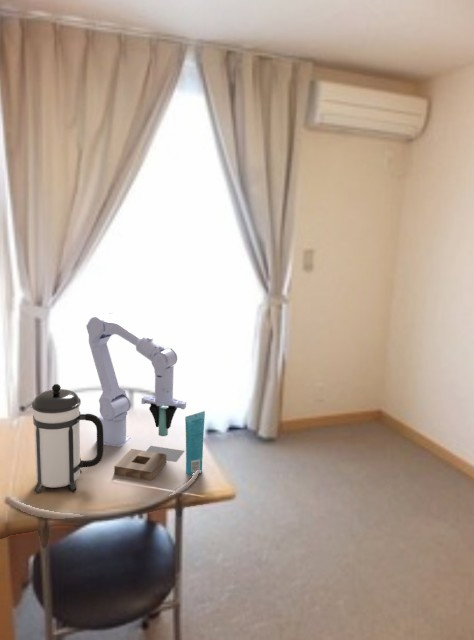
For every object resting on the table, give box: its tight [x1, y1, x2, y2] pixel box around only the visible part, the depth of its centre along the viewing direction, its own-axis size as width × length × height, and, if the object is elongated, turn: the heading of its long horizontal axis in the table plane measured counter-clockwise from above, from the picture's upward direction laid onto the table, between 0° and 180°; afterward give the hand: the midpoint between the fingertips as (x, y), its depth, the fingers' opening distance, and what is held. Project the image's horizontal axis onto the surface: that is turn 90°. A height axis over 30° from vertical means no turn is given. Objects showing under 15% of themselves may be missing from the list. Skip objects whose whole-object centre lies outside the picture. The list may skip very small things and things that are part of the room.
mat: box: [145, 445, 185, 463], centre depth 166 cm, size 12×8×1 cm, turn 77°
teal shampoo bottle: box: [185, 410, 206, 476], centre depth 154 cm, size 7×5×19 cm, turn 140°
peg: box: [158, 406, 169, 437], centre depth 164 cm, size 3×3×9 cm
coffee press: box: [27, 383, 104, 494], centre depth 144 cm, size 17×16×30 cm
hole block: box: [113, 448, 167, 481], centre depth 156 cm, size 12×12×3 cm
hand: (163, 426), depth 164 cm, fingers closed on peg, 3 cm apart
